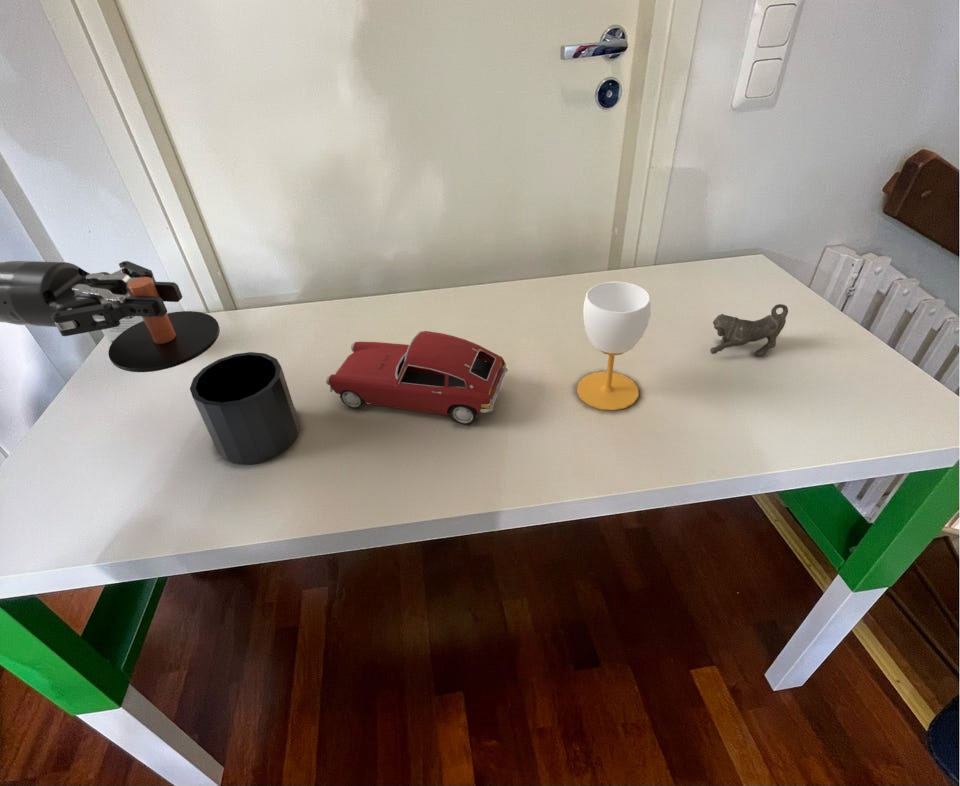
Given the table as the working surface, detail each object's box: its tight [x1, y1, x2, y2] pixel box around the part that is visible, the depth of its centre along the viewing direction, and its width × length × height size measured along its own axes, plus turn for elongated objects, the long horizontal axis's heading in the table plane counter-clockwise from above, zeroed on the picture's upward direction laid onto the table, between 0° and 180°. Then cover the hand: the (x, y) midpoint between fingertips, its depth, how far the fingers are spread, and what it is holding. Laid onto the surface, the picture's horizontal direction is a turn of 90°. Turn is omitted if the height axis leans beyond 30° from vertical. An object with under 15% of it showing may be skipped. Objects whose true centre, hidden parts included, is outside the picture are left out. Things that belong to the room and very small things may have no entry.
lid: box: [107, 277, 221, 373], centre depth 69 cm, size 12×12×9 cm
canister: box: [189, 351, 300, 466], centre depth 81 cm, size 11×11×10 cm
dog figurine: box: [709, 303, 789, 357], centre depth 93 cm, size 12×6×7 cm, turn 95°
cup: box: [576, 280, 652, 412], centre depth 83 cm, size 9×9×16 cm
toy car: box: [325, 330, 509, 426], centre depth 87 cm, size 11×25×10 cm, turn 75°
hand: (170, 299), depth 67 cm, fingers closed on lid, 2 cm apart
